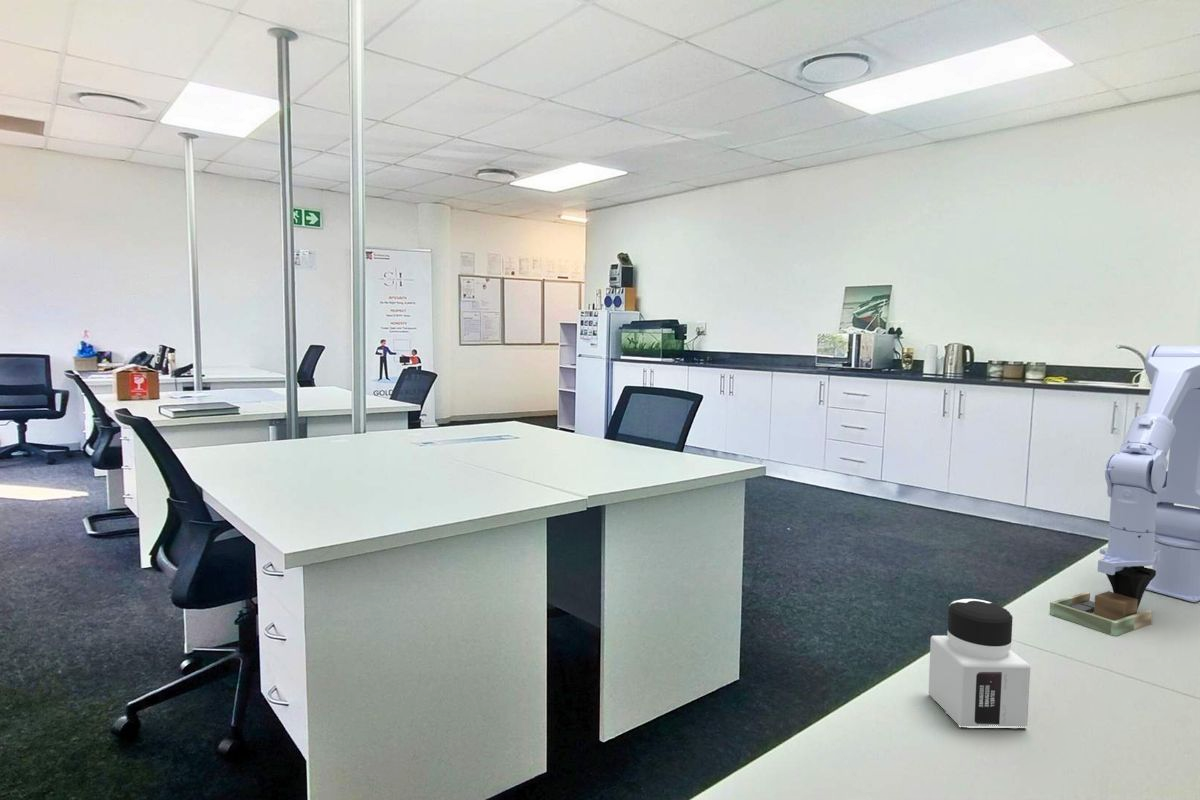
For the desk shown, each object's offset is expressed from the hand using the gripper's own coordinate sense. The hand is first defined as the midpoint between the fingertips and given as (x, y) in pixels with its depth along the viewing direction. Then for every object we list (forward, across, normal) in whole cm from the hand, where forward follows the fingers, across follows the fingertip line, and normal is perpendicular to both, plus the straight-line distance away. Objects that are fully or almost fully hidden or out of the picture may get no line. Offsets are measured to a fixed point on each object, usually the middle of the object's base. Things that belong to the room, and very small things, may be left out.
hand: (1126, 611), depth 107 cm
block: (+1, +3, 0) cm, 4 cm away
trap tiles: (+1, +2, -5) cm, 5 cm away
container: (+1, +48, +7) cm, 49 cm away
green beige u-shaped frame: (+1, +4, -2) cm, 5 cm away
